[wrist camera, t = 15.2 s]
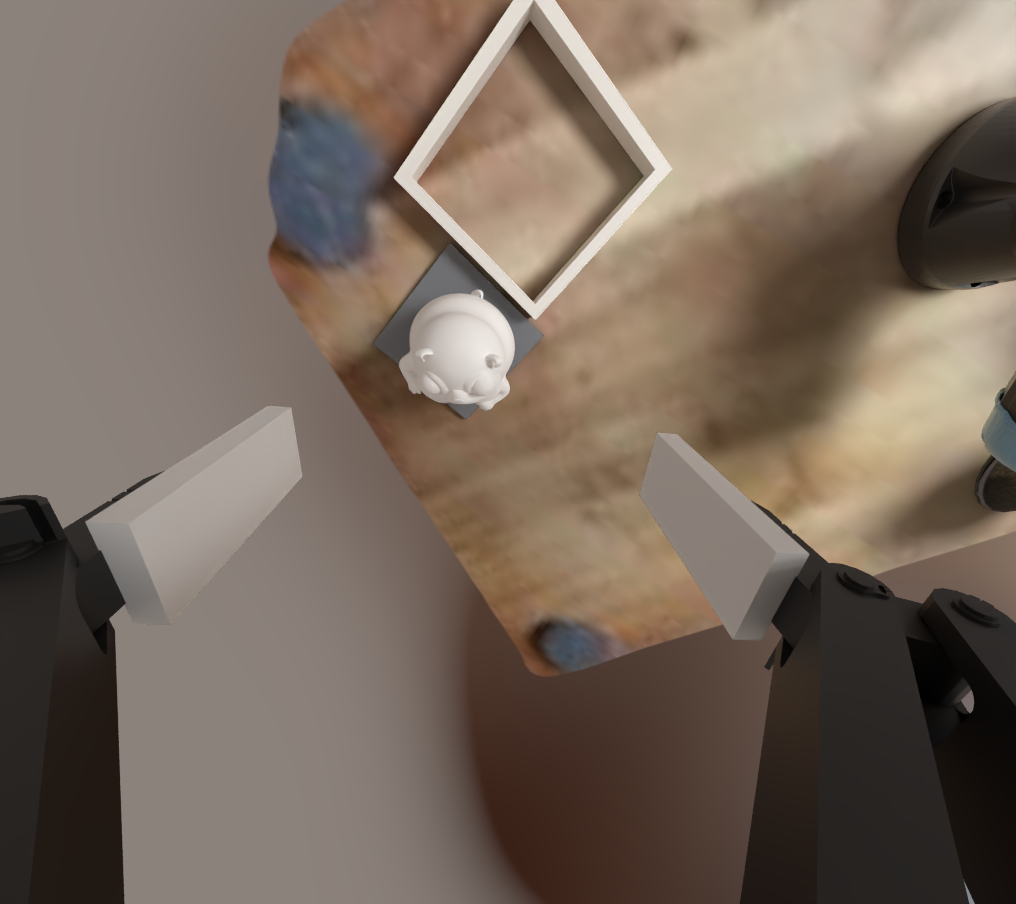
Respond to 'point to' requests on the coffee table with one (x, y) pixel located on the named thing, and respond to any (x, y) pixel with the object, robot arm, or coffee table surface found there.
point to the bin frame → (560, 35)
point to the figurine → (459, 351)
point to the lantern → (996, 487)
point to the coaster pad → (452, 278)
